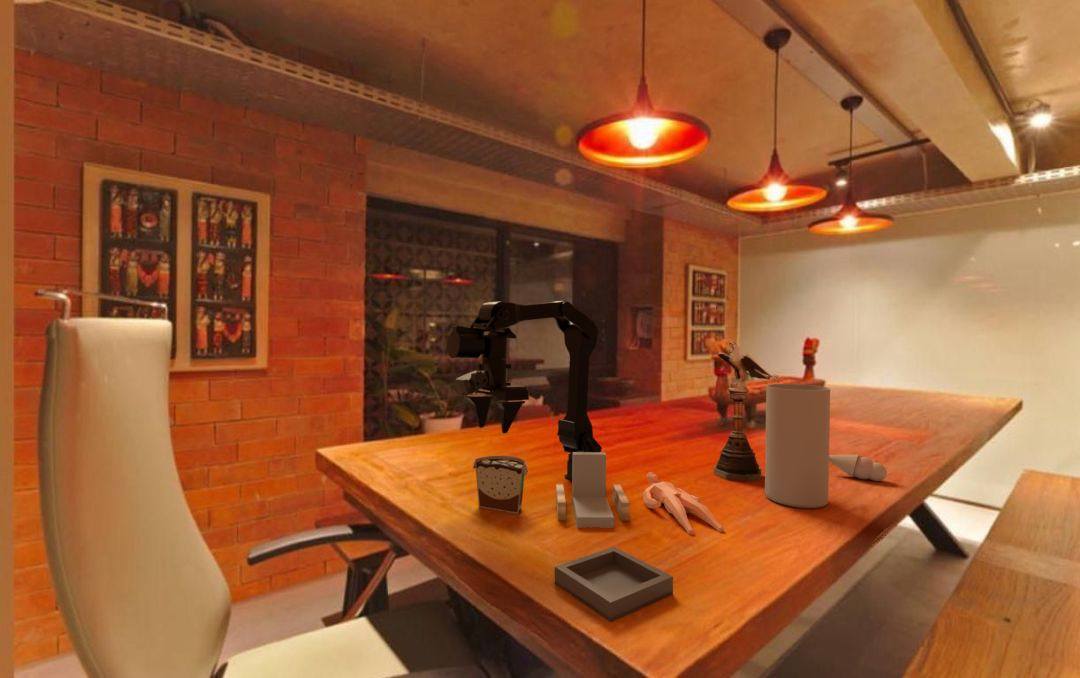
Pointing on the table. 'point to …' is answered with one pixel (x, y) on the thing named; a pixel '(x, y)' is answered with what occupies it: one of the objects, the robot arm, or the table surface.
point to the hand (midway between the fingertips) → (492, 430)
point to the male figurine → (677, 503)
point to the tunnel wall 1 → (560, 502)
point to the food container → (500, 482)
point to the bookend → (590, 490)
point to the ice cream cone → (859, 466)
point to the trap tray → (613, 582)
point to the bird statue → (740, 421)
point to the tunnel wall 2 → (621, 502)
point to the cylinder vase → (797, 445)
